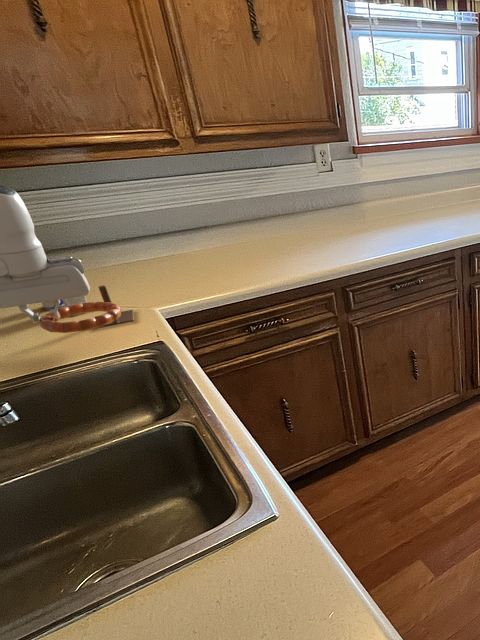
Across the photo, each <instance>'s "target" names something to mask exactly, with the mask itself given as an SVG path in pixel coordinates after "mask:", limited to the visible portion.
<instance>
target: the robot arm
mask: <svg viewBox="0 0 480 640" xmlns="http://www.w3.org/2000/svg"><path fill="white" fill-rule="evenodd" d="M27 208H28V207H27V206H26V204H25V203H24V200H23V199H22V198H21V196H20V195H19V193H18V192H17V191H16V190H15V189H13V188H11V187H9V186H5V185H0V310H1V309H7V308H13V307H18V309H19V311H20V312H22V313H23V314H25V315H26V316H28V317H29V318H30V321H31V322H32V323H33V324H35V323H40V321H41V319H42V317H41V316H40V313H39V312H34V311H32V310H31V309H29V305H33V304H39V303H41V302H48V301H51V304H52V305H55V308H54V309H52V310H48V311H49V312H48V313H49V315H50V316H51V319H52V320H53V319H59V318H60V315H59V313H58V309H59V308H58V307H59V304H60V300H61V299H67V298H74V297H80V296H85V297H86V296H88V295H89V294H90V292H91V286H90V284H89V282H88V279H87V277H86V276H85V274H84V273H85V267H84V264H83V262H82V260H80V259H79V258H76V257H72V255H71V256H69V255H67V256H63V257H52V258H50V257H49V258H47V255H46V252H45V250H44V247H43V244H42V243H41V241H40V240H39V239H38V237H37V235H36V233H35V225H34V222H33V220H32V217H31V215H30V212H29V211H28V209H27ZM41 304H42V303H41Z"/></svg>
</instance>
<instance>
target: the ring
mask: <svg viewBox="0 0 480 640" xmlns="http://www.w3.org/2000/svg"><path fill="white" fill-rule="evenodd" d="M111 302H112V301H111ZM111 302H104V301H89V302H88V301H87V303H80V304H75V305H70V306H66V307H65V306H64V307H61V308H58V313H59V315H60V318H59V319H53V320H52V319H51V316H50V315H49V312H48V313H46V314H44V315H42V316H41V321H40V322H39V326H40V328H41V329H43V330H45V331H47V332H49V333H59V334H69V333H79V332H85V331H89V330H95V329H99V328H98V327H100V328H102V327H101V326H104V325H106V324H109V323H112V322H113V321H115V320H116V319H117V318H119V317H120V316H121V312H122V307H121V306H120V305H119V304H117V303H114V302H112V303H111ZM85 312H87V313H94V312H96V313H97V312H103V313H102V314H99V315H96V316H97V317H95V316H94V317H90V318H85V319H81V320H76V321H62V322H61V321H60V320H62V319H65V318H68V317H71V316H73V315H75V316H77V315H76V314H79V315H82V314H81V313H83V314H86V313H85ZM94 328H95V329H94Z"/></svg>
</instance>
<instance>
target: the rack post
mask: <svg viewBox="0 0 480 640" xmlns="http://www.w3.org/2000/svg"><path fill="white" fill-rule="evenodd" d="M98 291H99V293H100V295H101V298H102V302H111V303H113V302H112V299H111V296H110V293H109V292H108V291H109V290H108V289H107V286H106V285H104V284H103V285H99V286H98ZM97 316H98V315H96V316H94V317H97ZM134 320H135V317H134V309H129V310H121V316H120V317H119V318H117V319H116V320H115V321H113V322H112V323H109V324H106V325H104V326H101V327H98V328H97V329H99V328H104V327H111V326H115V325H116V326H117V325H120V324H121V325H122V324H126V323H131V322H134ZM95 329H96V328H94V329H93V330H95Z"/></svg>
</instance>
